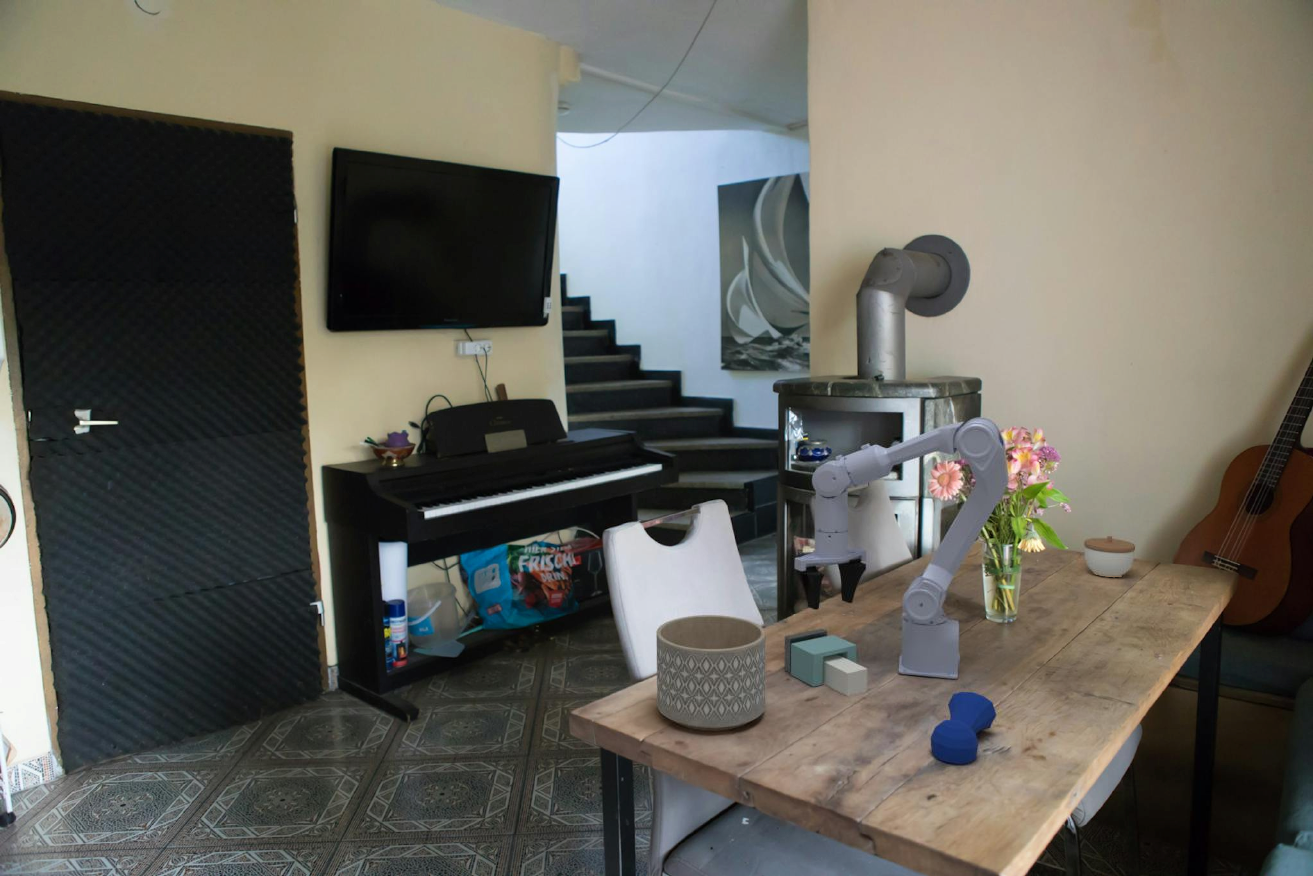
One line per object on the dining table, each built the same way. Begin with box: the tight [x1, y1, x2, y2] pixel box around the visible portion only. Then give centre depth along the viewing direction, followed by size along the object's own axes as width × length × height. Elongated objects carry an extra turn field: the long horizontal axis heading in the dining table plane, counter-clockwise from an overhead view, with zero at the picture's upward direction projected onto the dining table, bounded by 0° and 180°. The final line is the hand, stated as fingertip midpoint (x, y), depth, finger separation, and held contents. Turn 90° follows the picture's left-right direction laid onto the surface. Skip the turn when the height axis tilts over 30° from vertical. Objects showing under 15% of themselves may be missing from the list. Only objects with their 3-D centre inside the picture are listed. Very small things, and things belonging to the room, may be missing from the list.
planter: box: [656, 614, 766, 732], centre depth 135 cm, size 16×16×13 cm
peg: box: [823, 654, 868, 697], centre depth 146 cm, size 10×4×4 cm, turn 28°
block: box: [790, 634, 858, 687], centre depth 149 cm, size 6×9×5 cm, turn 118°
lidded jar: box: [1083, 535, 1136, 575], centre depth 210 cm, size 11×11×9 cm
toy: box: [930, 691, 997, 766], centre depth 124 cm, size 7×6×15 cm
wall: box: [784, 628, 828, 674], centre depth 153 cm, size 2×8×6 cm, turn 118°
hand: (830, 604), depth 158 cm, fingers open, 7 cm apart
